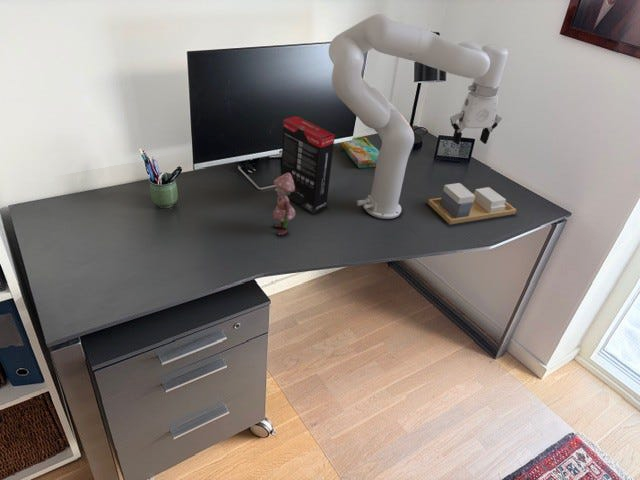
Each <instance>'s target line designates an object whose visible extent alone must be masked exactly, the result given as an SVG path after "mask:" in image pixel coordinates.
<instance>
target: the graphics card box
mask: <svg viewBox="0 0 640 480" xmlns="http://www.w3.org/2000/svg"><path fill="white" fill-rule="evenodd" d="M282 126H283V127H282V146H281V147H282V148H281V168H280V176H282V175H283V174H286V173H290V174H291V176H292V178H293V181H294V185H295V190H294V191H293V192H291V193H290V194H289V195H287V197H288V198H289V200H291V201H293V203H295V204H297V205H299V206H301V207H302V208H303V209H305V210H307V211H309V212H310V213H312V214H316V213H318V212H320V211H322V210H325V209H326V208H327V205H328V195H329V187H330V180H331V171H332V164H333V163H332V162H333V153H334V145H335V138H336V134H334V133H333V132H330V131H329V130H326V129H325V128H322V127H321V126H319V125H316V124H314V123H312V122H310V121H309V120H306V119H304V118H301V117H300V116H295V115H294V116H291V117H287V118H284V119H283V125H282Z"/></svg>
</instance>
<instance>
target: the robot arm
mask: <svg viewBox="0 0 640 480" xmlns="http://www.w3.org/2000/svg"><path fill="white" fill-rule="evenodd" d="M373 49H374V51H377V52H379V53H380V54H383V55H388V56H392V57H396V58H401V59H403V60H408V61H412V62H416V63H419V64H422V65H424V66H427V67H429V68H432V69H437V70H439V71H442V72H445V73H448V74H451V75H455V76H458V77H462V78H467V79H473V81H472V83H471V84H470V85H468V87H467V89H468V93H467V95H466V96H465V99H464V101H463V104H462V107H461V109H460V112H458V113H456V114H455V115H452V116H450V118H449V120H450V125H451V127H452V129H453V130H454V132H453V136H452V141H453V143H454V144H456V145H457V146H459V145H460V143H461V140H462V136H463V133H462V131H463V130H464V129H482V131H481V134H480V137H479V141H480V142H482V143H483V145H486V144H487V143H488V140H489V137H490V134H491V133H492V132H493V131H494V130H495V128H497V127H498V124H499V123H500V122H501V121H502V119H503V118H502V116H501V115H498V114H497V110H498V106H499V105H498V104H499V95H498V91H499V87H500V84H501V80H502V77H503V73H504V70H505V67H506V64H507V60H508V57H509V50H508V49H507V48H506V47H505V46H501V45H497V44H487V45H484V44H480V43H475V42H471V41H463V42H462V41H461V42H459V43H454V42H451V41H449V40H447V39H445V38H443V37H442V36H441V35H438V34H437V33H435V32H433V31H431V30H428V29H424V28H420V27H417V26H412V25H409V24H405V23H402V22H398V21H395V20H393V19H391V18H390V17H389V16H387V15H386V14H383V13H377V14H376V13H375V14H374V15H371V16H369V17H367V18H365V19H363V20H362V21H359V22H358V23H356V24H355V25H353V26H351V27H349V28H347V29H345V30H344V31H342V32H340V33H339V34H337V35H336V36H335V37H333V38H332V40H331V42H330V43H329V46H328V56H329V58H330V61H331V62H332V64H333V66H332V72H331V86H332V89H333V91H334V93H335V95H336V96H337V97H338V98H339V100H341V102H342V103H343V104H344V105H345V106H346V107H347V108H348V110H349V111H351V112H352V113H353V114H354V115H355V116H356V117H357V119H359V120H360V121H361V123H362V124H363V125H364V126H366V127H368V128H369V129H373V130H374V131H375V132H376V133H377V135H378V136H379V139H380V140H381V145H380V146H381V147H380V149H379V154H378V158H377V162H376V167H375V170H374V176H373V180H372V187H371V191H370V194H368V195H367V198H364V199H360V200H359V199H357V200H356V206H357V207H363V209H364V210H365V211H366V212H367V213H368V214H369V215H371V216H373V217H375V218H378V219H384V220H385V219H386V220H390V219H395V218H397V217H399V216H400V214H401V213H402V206H401V205H400V203H399V202H400V197H401V194H402V193H401V192H402V188H403V183H404V179H405V173H406V169H407V166H408V165H407V164H408V161H409V158H410V154H411V151H412V149H413V147H414V144H415V133H414V130H413V129H412V126H411V125H410V123H409V122H408V121H407V120H406V119H405V117H404V116H403V115H402V114H401V112H400V111H399V110H398V109H397V108H396V107H395V106H394V104H392V103H391V102H390V101H389V99H387V97H386V96H385V95H384V94H383V93H381V92H380V90H378V89H377V88H375V87H371V86H370V85H369V83H368V82H367V81H365V80H364V79H363V77H362V72H363V71H362V70H363V67H364V63H365V56H364V54H366V53H367V52H369V51H371V50H373Z"/></svg>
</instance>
